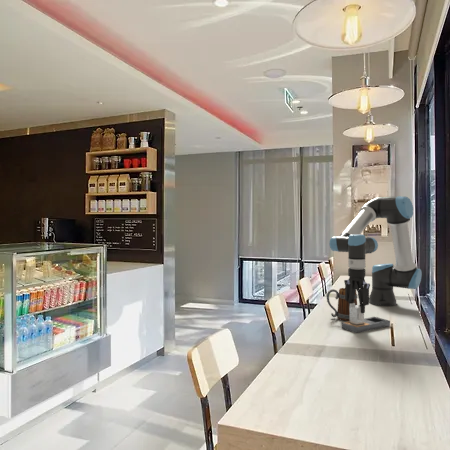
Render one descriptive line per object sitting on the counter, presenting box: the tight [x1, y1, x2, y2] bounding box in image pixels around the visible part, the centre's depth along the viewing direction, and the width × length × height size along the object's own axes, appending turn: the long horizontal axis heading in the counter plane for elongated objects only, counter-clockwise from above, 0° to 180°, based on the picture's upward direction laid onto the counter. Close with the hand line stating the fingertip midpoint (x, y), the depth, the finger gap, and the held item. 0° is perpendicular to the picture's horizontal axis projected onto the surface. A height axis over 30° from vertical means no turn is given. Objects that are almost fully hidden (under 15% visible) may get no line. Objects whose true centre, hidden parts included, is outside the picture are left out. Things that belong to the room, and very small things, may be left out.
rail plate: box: [341, 316, 391, 334], centre depth 188 cm, size 22×9×3 cm, turn 119°
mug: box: [326, 287, 358, 322], centre depth 203 cm, size 16×11×15 cm
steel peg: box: [349, 304, 364, 326], centre depth 185 cm, size 4×4×9 cm
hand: (356, 318), depth 185 cm, fingers closed on steel peg, 4 cm apart
